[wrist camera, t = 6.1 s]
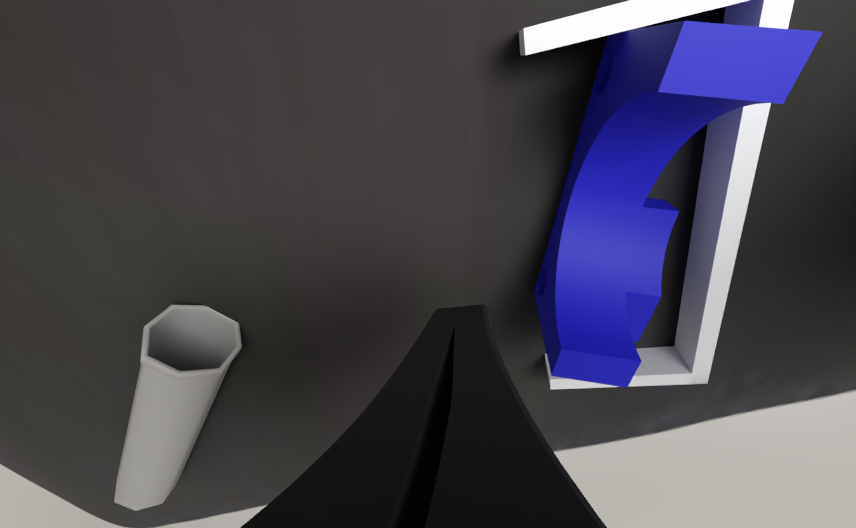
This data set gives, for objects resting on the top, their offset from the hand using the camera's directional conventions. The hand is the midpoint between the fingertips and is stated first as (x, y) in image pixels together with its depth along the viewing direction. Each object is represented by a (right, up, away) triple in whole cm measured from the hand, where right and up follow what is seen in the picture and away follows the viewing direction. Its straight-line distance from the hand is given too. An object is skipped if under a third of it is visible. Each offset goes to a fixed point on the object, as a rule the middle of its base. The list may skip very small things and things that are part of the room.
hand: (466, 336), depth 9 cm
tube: (-21, -10, +21) cm, 31 cm away
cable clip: (+8, +5, +7) cm, 12 cm away
